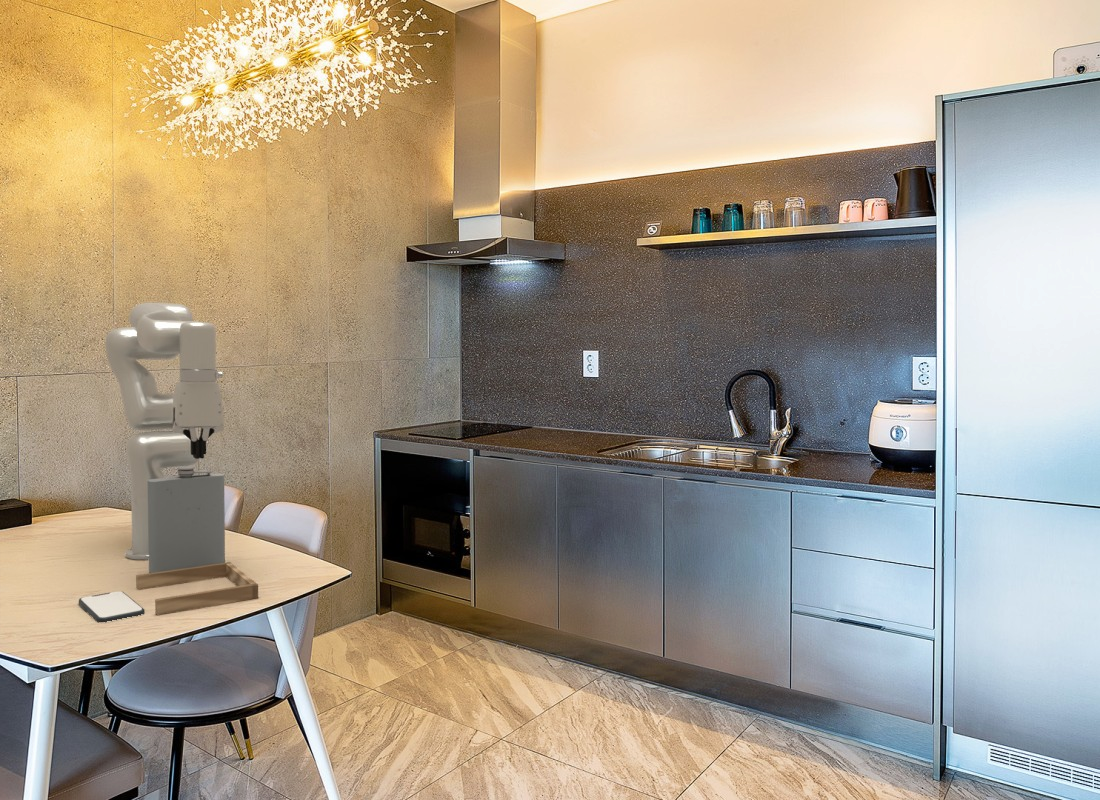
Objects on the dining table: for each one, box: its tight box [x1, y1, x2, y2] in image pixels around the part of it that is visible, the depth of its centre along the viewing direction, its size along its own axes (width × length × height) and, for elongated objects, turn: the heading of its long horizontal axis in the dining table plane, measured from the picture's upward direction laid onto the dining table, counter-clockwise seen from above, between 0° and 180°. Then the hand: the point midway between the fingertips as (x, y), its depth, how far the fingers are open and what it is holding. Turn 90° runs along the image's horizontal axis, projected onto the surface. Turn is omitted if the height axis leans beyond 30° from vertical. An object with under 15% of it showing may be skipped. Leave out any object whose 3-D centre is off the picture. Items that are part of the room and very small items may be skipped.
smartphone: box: [78, 590, 145, 623], centre depth 170 cm, size 9×2×16 cm
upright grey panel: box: [148, 465, 226, 573], centre depth 198 cm, size 17×5×25 cm, turn 131°
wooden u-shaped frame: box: [135, 561, 259, 615], centre depth 181 cm, size 21×20×3 cm
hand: (198, 457), depth 187 cm, fingers closed
